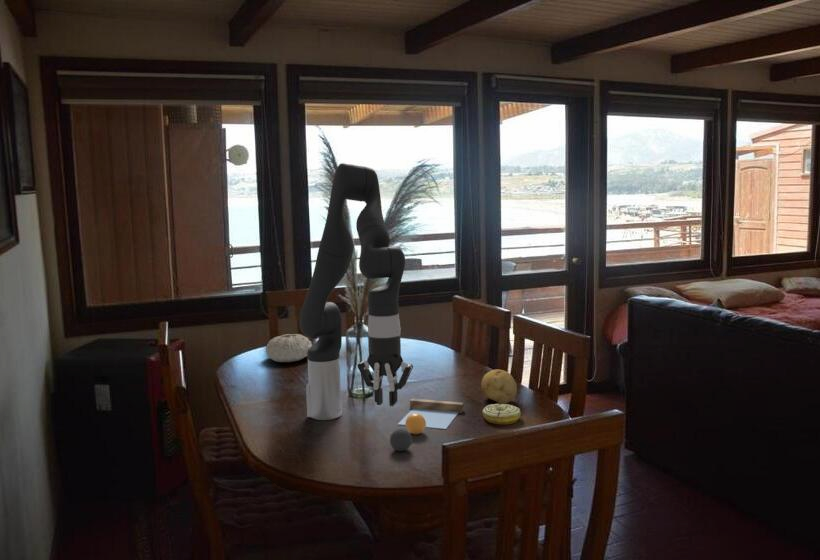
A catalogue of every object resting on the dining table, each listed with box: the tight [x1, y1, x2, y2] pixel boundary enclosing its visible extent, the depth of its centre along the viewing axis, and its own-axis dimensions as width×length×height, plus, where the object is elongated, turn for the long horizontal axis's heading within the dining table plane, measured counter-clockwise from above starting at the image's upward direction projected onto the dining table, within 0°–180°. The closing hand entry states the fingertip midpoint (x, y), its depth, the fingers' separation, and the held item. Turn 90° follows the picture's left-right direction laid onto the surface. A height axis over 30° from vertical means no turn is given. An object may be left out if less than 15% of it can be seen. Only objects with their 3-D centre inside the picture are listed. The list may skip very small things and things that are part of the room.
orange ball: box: [404, 413, 426, 435], centre depth 179 cm, size 6×6×6 cm
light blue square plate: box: [397, 408, 460, 430], centre depth 191 cm, size 14×14×1 cm
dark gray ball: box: [389, 428, 413, 452], centre depth 168 cm, size 6×6×6 cm
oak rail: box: [409, 397, 465, 414], centre depth 198 cm, size 16×2×2 cm, turn 71°
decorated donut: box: [482, 403, 522, 426], centre depth 189 cm, size 10×11×4 cm
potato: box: [480, 369, 518, 404], centre depth 204 cm, size 10×12×10 cm
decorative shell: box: [265, 333, 313, 363], centre depth 260 cm, size 18×18×10 cm
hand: (386, 404), depth 158 cm, fingers open, 2 cm apart
